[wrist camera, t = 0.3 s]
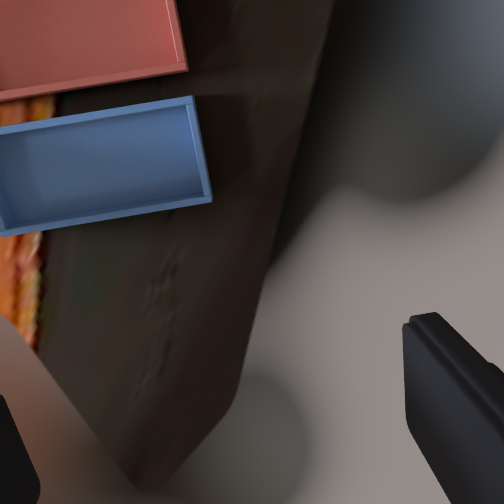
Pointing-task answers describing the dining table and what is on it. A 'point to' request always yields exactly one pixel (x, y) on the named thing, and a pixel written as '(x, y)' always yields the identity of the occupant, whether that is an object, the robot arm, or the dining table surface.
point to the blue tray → (101, 166)
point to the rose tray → (86, 44)
